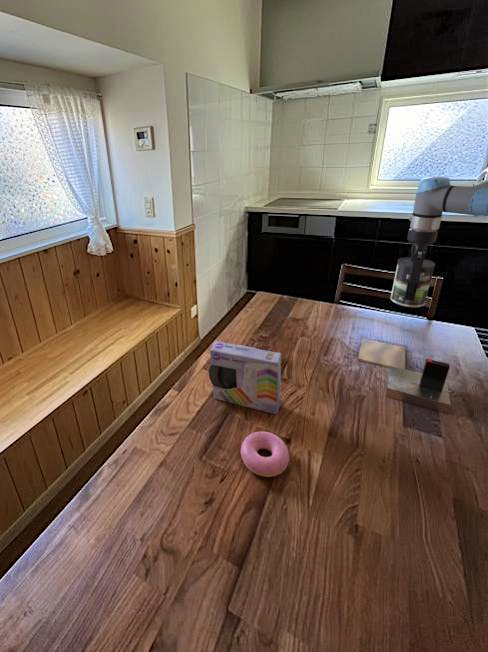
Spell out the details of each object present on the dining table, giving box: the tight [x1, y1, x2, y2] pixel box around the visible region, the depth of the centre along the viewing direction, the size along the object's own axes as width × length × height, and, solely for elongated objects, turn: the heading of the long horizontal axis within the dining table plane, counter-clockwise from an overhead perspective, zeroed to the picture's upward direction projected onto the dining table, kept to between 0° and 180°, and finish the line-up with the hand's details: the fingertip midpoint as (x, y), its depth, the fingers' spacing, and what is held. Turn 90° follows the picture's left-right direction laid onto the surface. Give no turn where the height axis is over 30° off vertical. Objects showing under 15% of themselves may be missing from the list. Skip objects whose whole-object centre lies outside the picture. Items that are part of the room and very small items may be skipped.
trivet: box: [357, 337, 406, 369], centre depth 110 cm, size 13×13×1 cm
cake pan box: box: [208, 340, 282, 415], centre depth 91 cm, size 19×5×18 cm, turn 65°
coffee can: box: [390, 256, 436, 308], centre depth 112 cm, size 10×10×14 cm
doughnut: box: [240, 430, 290, 478], centre depth 77 cm, size 11×11×4 cm
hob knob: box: [420, 358, 451, 391], centre depth 90 cm, size 5×2×8 cm, turn 60°
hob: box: [385, 366, 452, 415], centre depth 93 cm, size 15×11×3 cm
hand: (409, 293), depth 114 cm, fingers closed on coffee can, 10 cm apart
